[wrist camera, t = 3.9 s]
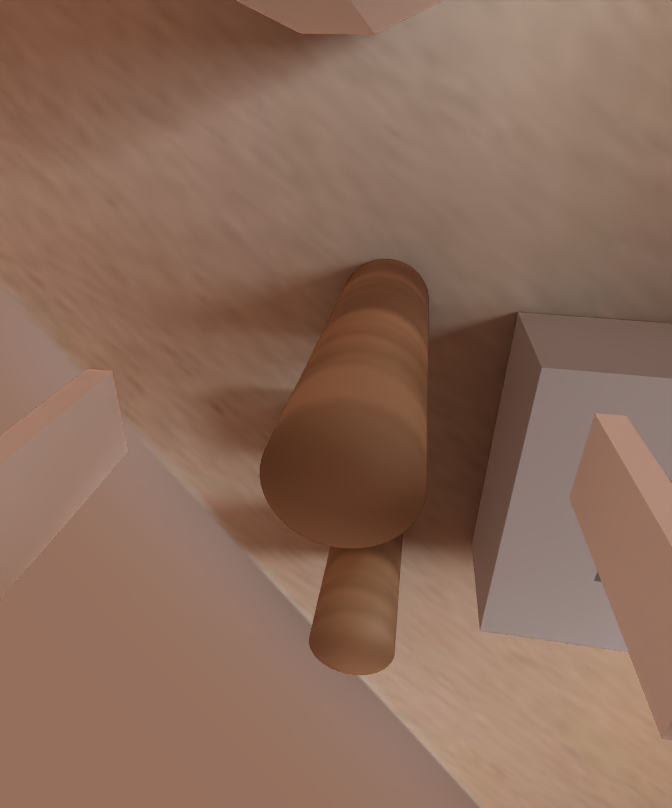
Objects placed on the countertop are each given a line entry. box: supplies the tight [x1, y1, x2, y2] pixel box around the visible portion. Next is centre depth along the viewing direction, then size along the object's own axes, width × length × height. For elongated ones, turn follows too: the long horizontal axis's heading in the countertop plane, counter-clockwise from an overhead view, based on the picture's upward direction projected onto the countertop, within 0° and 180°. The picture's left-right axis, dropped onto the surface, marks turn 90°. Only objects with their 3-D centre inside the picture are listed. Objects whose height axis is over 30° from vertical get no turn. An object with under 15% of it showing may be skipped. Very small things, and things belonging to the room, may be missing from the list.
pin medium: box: [309, 533, 403, 675], centre depth 28 cm, size 4×4×8 cm
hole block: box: [472, 312, 672, 653], centre depth 24 cm, size 14×14×6 cm
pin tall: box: [260, 259, 429, 548], centre depth 19 cm, size 4×4×14 cm
